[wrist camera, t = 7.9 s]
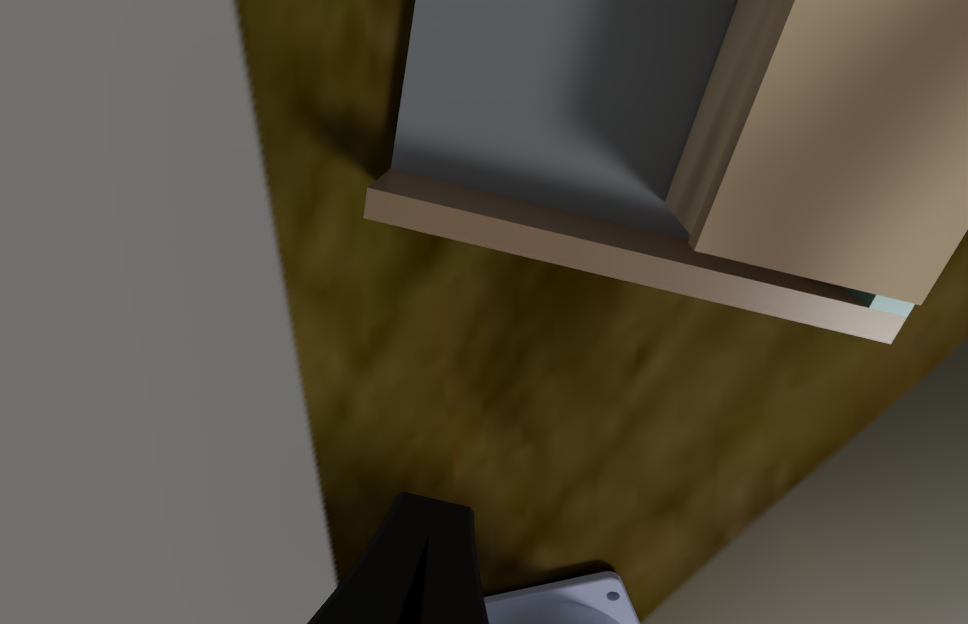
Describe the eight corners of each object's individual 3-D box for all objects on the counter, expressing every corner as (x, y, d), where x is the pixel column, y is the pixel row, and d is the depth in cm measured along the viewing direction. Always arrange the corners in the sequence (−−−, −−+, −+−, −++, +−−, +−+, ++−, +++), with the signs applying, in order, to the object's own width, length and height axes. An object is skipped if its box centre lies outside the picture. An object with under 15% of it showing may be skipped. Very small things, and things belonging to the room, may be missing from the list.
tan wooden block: (951, 25, 14) (1096, 18, 10) (837, 247, 16) (920, 305, 13) (743, -27, 14) (815, -52, 10) (659, 205, 16) (694, 250, 13)
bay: (1016, -37, 14) (1133, -56, 11) (836, 297, 18) (890, 344, 15) (446, -179, 14) (423, -235, 11) (390, 190, 17) (363, 218, 15)
